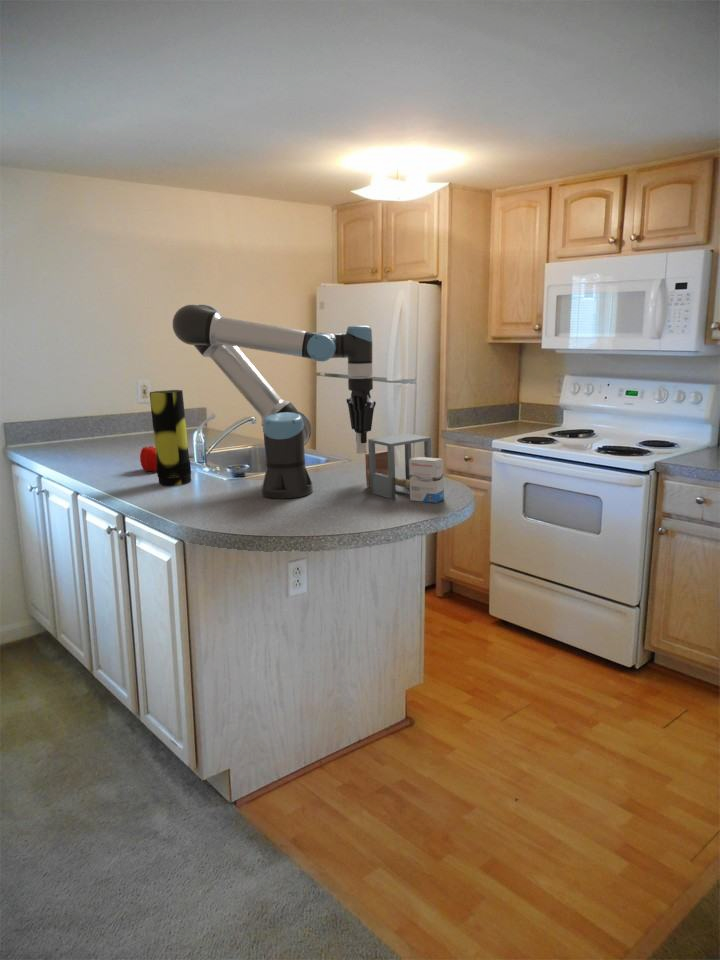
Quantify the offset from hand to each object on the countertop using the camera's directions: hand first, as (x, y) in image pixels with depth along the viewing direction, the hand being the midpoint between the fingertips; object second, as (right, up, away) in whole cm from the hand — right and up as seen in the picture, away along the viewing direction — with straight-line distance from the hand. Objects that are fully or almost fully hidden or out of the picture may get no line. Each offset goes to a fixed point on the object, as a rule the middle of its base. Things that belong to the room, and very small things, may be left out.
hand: (361, 452), depth 221 cm
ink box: (+18, -14, -24) cm, 33 cm away
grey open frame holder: (+12, -12, -14) cm, 21 cm away
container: (-61, -10, +11) cm, 63 cm away
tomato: (-74, -5, +33) cm, 81 cm away
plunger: (+11, -12, -13) cm, 21 cm away
